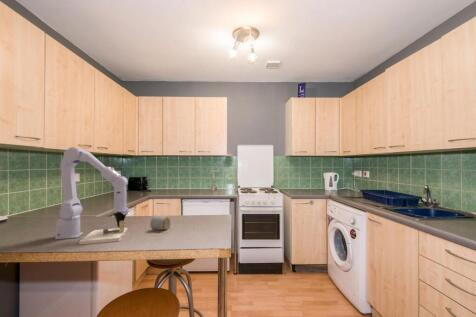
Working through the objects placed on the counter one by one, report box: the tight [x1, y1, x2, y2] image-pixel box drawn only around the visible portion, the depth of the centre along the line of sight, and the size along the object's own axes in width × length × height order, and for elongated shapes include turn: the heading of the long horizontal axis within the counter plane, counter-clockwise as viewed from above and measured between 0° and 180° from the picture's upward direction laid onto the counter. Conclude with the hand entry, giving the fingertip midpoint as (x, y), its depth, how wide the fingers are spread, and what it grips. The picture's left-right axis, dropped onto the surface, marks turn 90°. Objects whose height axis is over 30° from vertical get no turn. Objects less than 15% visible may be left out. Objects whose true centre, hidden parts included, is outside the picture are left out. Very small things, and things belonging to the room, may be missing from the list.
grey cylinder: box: [150, 214, 171, 231], centre depth 128 cm, size 11×8×8 cm
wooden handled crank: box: [102, 219, 125, 234], centre depth 117 cm, size 9×2×5 cm, turn 119°
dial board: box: [79, 227, 128, 245], centre depth 115 cm, size 16×18×2 cm
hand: (120, 227), depth 120 cm, fingers closed
